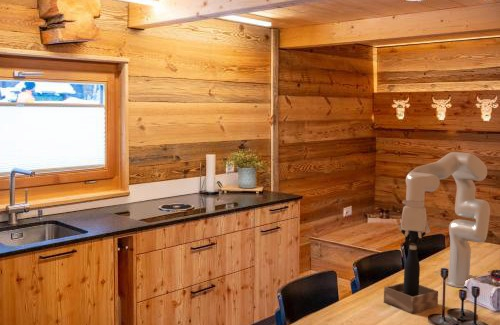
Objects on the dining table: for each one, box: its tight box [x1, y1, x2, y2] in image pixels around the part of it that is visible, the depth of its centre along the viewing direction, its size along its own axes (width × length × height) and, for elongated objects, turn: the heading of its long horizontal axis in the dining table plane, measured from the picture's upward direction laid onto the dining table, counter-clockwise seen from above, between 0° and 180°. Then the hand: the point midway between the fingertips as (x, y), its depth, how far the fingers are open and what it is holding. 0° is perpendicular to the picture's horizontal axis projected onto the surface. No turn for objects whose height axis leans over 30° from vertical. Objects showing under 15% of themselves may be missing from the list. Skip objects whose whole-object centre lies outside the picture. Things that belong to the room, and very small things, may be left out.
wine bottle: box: [403, 231, 421, 297], centre depth 249 cm, size 6×6×30 cm
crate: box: [383, 282, 439, 315], centre depth 250 cm, size 16×16×7 cm
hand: (413, 245), depth 248 cm, fingers closed on wine bottle, 3 cm apart
